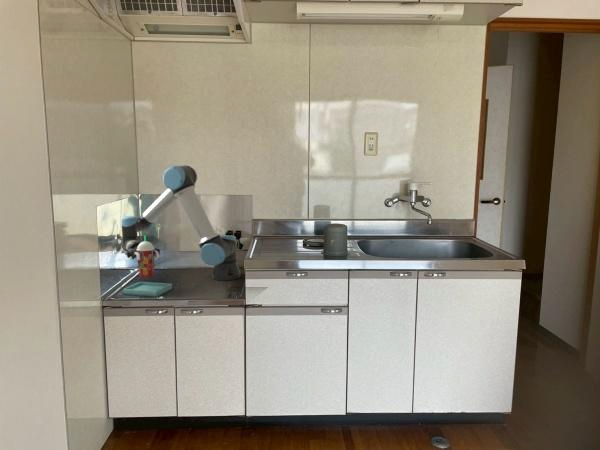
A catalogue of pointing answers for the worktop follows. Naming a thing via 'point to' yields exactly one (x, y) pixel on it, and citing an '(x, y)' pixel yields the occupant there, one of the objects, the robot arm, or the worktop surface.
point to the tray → (147, 289)
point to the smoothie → (146, 259)
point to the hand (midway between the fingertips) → (148, 256)
